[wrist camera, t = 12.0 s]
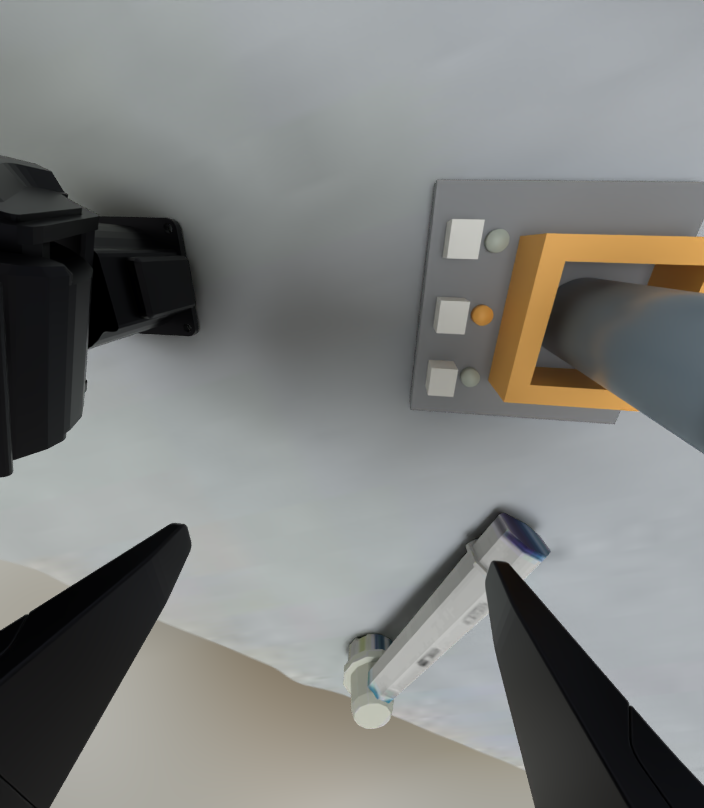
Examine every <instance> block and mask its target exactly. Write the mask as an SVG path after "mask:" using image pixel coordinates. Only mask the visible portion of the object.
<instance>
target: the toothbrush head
mask: <svg viewBox="0 0 704 808" xmlns="http://www.w3.org/2000/svg"><path fill="white" fill-rule="evenodd" d="M466 549H467V553H466V554H465V555H464V557H463V558H462V559H461V560H460V562H459V563H458V564H457V565H456V566H455V568H454V569H453V570H452V571H451V572H450V574H449V575H448V576H447V577H446V578H445V580H444V581H443V582H442V583H441V585H440V586H439V587H438V588H437V589H436V591H435V592H434V593H433V594H432V595H431V597H430V598H429V599H428V600H427V602H426V603H425V604H424V605H423V606H422V608H421V609H420V610H419V611H418V612H417V614H416V615H415V616H414V617H413V618H412V620H411V621H410V622H409V623H408V625H407V626H406V627H405V628H404V629H403V631H402V632H401V633H400V634H399V635H398V637H397V638H396V639H395V640H394V642H392V641H391V639H389V638H387V637H385V636H383V635H380V634H367V636H365V637H362V638H360V639H359V638H355V639H354V640H353V642H352V643H351V644H350V645H349V657H348V662H347V663H346V665H345V666H344V681H343V685H344V686H345V687H346V689H347V690H348V692H349V693H350V694H351V711H352V715H353V718H354V720H355V722H356V723H357V724H358V725H359V726H361V727H363V728H366V729H373V728H378V727H381V726H384V725H385V724H386V723H387V722H388V721H389V720H390V717H391V714H392V710H393V699H394V698H395V697H396V696H398V695H399V694H400V693H401V692H402V691H403V690H404V689H405V688H406V687H408V686H409V685H410V684H411V683H412V682H413V681H414V680H415V679H416V678H418V677H419V676H420V675H421V674H422V673H423V672H424V671H425V670H427V669H428V668H429V667H430V666H431V665H432V664H433V663H434V662H435V661H437V660H438V659H439V658H440V657H441V656H442V655H443V654H444V653H445V652H447V651H448V650H449V649H450V648H451V647H452V646H453V645H454V644H455V643H457V642H458V641H459V640H460V639H461V638H462V637H463V636H464V635H465V634H467V633H468V632H469V631H470V630H471V629H472V628H473V627H474V626H475V625H477V624H478V623H479V622H480V621H481V620H482V619H483V618H484V617H485V616H487V615H488V614H489V609H488V603H487V596H486V590H485V579H486V576H487V572H488V569H489V566H490V563H491V561H493V560H497V561H505V562H507V563H509V564H510V565H511V566H512V567H513V569H514V570H515V571H516V572H517V573H518V574H519V576H520V577H521V578H522V579H523V580H525V579H526V578H527V577H528V576H529V575H530V573H531V572H532V571H533V570H534V569H535V568H536V567H537V566H538V565H539V564H540V563H541V562H542V561H543V560H544V559H545V558H546V557H547V556H548V554H549V553H550V552H551V551H550V549H549V548H548V547H547V545H546V544H545V542H544V541H543V540H542V538H541V537H540V536H539V535H538V534H537V533H536V532H535V531H533V530H532V529H531V528H530V527H529V526H528V525H526V524H525V523H523V522H521V521H519V520H517V519H515V518H513V517H511V516H509V515H508V514H506V513H502V514H500V515H498V517H497V518H496V519H495V520H494V521H493V522H492V524H491V525H490V526H489V527H488V528H487V529H486V531H485V532H484V533H483V534H482V535H481V537H480V538H479V539H478V540H477V539H474V540H473V541H471V542H469V543H468V544H467V545H466Z"/></svg>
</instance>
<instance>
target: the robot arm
mask: <svg viewBox="0 0 704 808" xmlns="http://www.w3.org/2000/svg"><path fill="white" fill-rule="evenodd" d="M169 224H170V225H171V226H172V232H171V233H170V232H169V230H168V225H169ZM195 303H196V301H195V296H194V290H193V285H192V279H191V273H190V268H189V262H188V260H187V259H186V255H185V250H184V244H183V238H182V233H181V228H180V225H179V224H178V222H177V221H175V220H174V219H170V218H148V217H100V216H99V215H98V214H96V213H94V212H92V211H90V210H88V209H86V208H84V207H82V206H80V205H78V204H77V203H75V202H73V201H72V200H70V199H68V194H67V193H65V192H64V191H63V190H62V188H61V186H60V185H59V183H58V181H57V180H56V178H55V177H54V175H53V173H52V172H51V171H49V170H47V169H45V168H43V167H41V166H39V165H37V164H35V163H30V162H26V161H22V160H18V159H14V158H10V157H5V156H1V155H0V477H6V476H9V475H11V474H12V473H13V460H16V459H19V458H22V457H25V456H28V455H31V454H34V453H37V452H40V451H43V450H46V449H48V448H50V447H52V446H54V445H56V444H58V443H60V442H61V441H63V440H64V439H65V438H66V432H68V431H69V430H70V429H71V428H72V427H73V426H74V425H75V424H76V423H77V421H78V420H79V419H80V418H81V417H82V411H83V406H84V394H85V392H86V390H87V380H86V366H87V351H88V349H91V348H94V347H97V346H100V345H103V344H106V343H109V342H112V341H115V340H118V339H121V338H124V337H127V336H130V335H133V334H136V333H142V334H160V335H178V336H192V335H194V334H196V333H197V332H198V322H197V316H196V311H195ZM187 324H188V325H190V326H191V330H189V329H188V327H187ZM190 550H191V539H190V535H189V532H188V528H187V526H186V525H185V524H180V523H171V524H169V525H168V526H166V527H164V528H163V529H161V530H160V531H158V532H156V533H155V534H153V535H152V536H150V537H149V538H147V539H145V540H144V541H142V542H141V543H139V544H137V545H136V546H134V547H133V548H131V549H129V550H128V551H126V552H125V553H123V554H121V555H120V556H118V557H117V558H115V559H113V560H112V561H110V562H109V563H107V564H106V565H104V566H102V567H101V568H99V569H98V570H96V571H94V572H93V573H91V574H90V575H88V576H86V577H85V578H83V579H82V580H80V581H78V582H77V583H75V584H74V585H72V586H71V587H69V588H67V589H66V590H64V591H63V592H61V593H59V594H58V595H56V596H55V597H53V598H51V599H50V600H48V601H47V602H45V603H43V604H42V605H40V606H39V607H37V608H35V609H34V610H32V611H31V612H30V613H29V614H27V615H24V616H23V617H21V618H19V619H18V620H16V621H15V622H13V623H12V624H10V625H8V626H7V627H5V628H3V629H2V630H0V808H50V806H51V804H52V802H53V801H54V799H55V797H56V795H57V794H58V792H59V790H60V788H61V787H62V785H63V783H64V781H65V780H66V778H67V776H68V774H69V772H70V771H71V769H72V767H73V765H74V764H75V762H76V760H77V759H78V757H79V755H80V753H81V752H82V750H83V748H84V746H85V745H86V743H87V741H88V739H89V738H90V736H91V734H92V732H93V731H94V729H95V727H96V725H97V723H98V722H99V720H100V718H101V717H102V715H103V713H104V711H105V710H106V708H107V706H108V704H109V702H110V701H111V699H112V697H113V696H114V693H115V692H116V690H117V689H118V687H119V685H120V683H121V682H122V679H123V678H124V676H125V675H126V673H127V671H128V669H129V667H130V666H131V664H132V662H133V661H134V658H135V657H136V655H137V653H138V652H139V650H140V648H141V647H142V645H143V643H144V641H145V640H146V638H147V636H148V634H149V633H150V631H151V629H152V627H153V626H154V624H155V622H156V620H157V619H158V617H159V615H160V613H161V612H162V610H163V608H164V606H165V604H166V602H167V600H168V598H169V596H170V594H171V592H172V590H173V588H174V585H175V583H176V581H177V579H178V577H179V574H180V572H181V570H182V568H183V566H184V563H185V561H186V559H187V557H188V555H189V553H190ZM485 590H486V596H487V603H488V609H489V616H490V622H491V629H492V635H493V641H494V647H495V652H496V656H497V661H498V664H499V668H500V672H501V676H502V680H503V684H504V688H505V692H506V696H507V700H508V704H509V707H510V711H511V715H512V719H513V723H514V727H515V731H516V735H517V739H518V743H519V746H520V750H521V754H522V758H523V762H524V766H525V770H526V774H527V778H528V782H529V785H530V789H531V793H532V797H533V801H534V805H535V808H704V785H703V784H702V783H701V782H700V781H699V780H698V779H697V778H696V777H695V776H694V775H693V774H692V772H691V771H690V770H689V769H688V768H687V767H686V766H685V765H684V764H683V763H682V762H681V761H680V760H679V759H678V758H677V756H676V755H675V754H674V753H673V752H672V751H671V750H670V749H669V747H668V746H667V745H666V744H665V743H664V742H663V741H662V740H661V738H660V737H659V736H658V735H657V734H656V733H655V732H654V731H653V729H652V728H651V727H650V726H649V725H648V724H647V723H646V721H645V720H644V719H643V718H642V717H641V716H640V714H639V713H638V712H637V711H636V710H635V709H634V707H632V706H629V702H628V701H627V700H626V698H625V697H624V696H623V695H622V694H621V693H620V691H619V690H618V689H617V688H616V687H615V686H614V684H613V683H612V682H611V681H610V680H609V679H608V678H607V676H606V675H605V674H604V673H603V672H602V671H601V669H600V668H599V667H598V666H597V665H596V664H595V662H594V661H593V660H592V659H591V658H590V657H589V656H588V654H587V653H586V652H585V651H584V650H583V649H582V647H581V646H580V645H579V644H578V643H577V642H576V640H575V639H574V638H573V637H572V636H571V635H570V633H569V632H568V631H567V630H566V629H565V628H564V627H563V625H562V624H561V623H560V622H559V621H558V620H557V618H556V617H555V616H554V615H553V614H552V613H551V611H550V610H549V609H548V608H547V607H546V606H545V605H544V603H543V602H542V601H541V600H540V599H539V598H538V596H537V595H536V594H535V593H534V592H533V591H532V589H531V588H530V587H529V586H528V585H527V584H526V582H525V581H524V580H523V579H522V578H521V577H520V576H519V574H518V573H517V572H516V571H515V570H514V569H513V567H512V566H511V565H510V564H509V563H507V562H505V561H497V560H493V561H491V563H490V566H489V569H488V572H487V576H486V579H485Z"/></svg>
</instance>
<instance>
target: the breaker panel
mask: <svg viewBox="0 0 704 808" xmlns="http://www.w3.org/2000/svg"><path fill="white" fill-rule="evenodd" d="M703 219H704V182H662V181H550V180H437V181H436V183H435V184H434V193H433V202H432V211H431V219H430V228H429V237H428V246H427V254H426V263H425V272H424V281H423V290H422V298H421V307H420V316H419V325H418V333H417V342H416V351H415V360H414V368H413V377H412V386H411V395H410V408H411V410H423V411H437V412H451V413H465V414H479V415H493V416H507V417H521V418H535V419H549V420H563V421H576V422H590V423H604V424H615V422H616V420H617V418H618V415H619V413H620V411H621V410H626V411H638V410H637V409H635V408H634V407H632V406H631V405H629V404H628V403H626V402H625V401H623V400H622V399H620V398H619V397H617V396H616V395H614V394H613V393H611V392H610V391H608V390H607V389H605V388H604V387H602V386H601V385H599V384H598V383H596V382H595V381H593V380H592V379H590V378H589V377H587V376H586V375H584V374H583V373H581V372H580V371H578V370H577V369H575V368H574V367H572V366H571V365H569V364H568V363H566V362H565V361H563V360H562V359H560V358H559V357H557V356H556V355H554V354H553V353H551V352H550V351H548V350H547V349H545V348H544V347H543V346H542V341H543V338H544V334H545V331H546V327H547V324H548V320H549V317H550V313H551V310H552V306H553V303H554V299H555V296H556V292H557V289H558V287H559V286H561V285H563V284H564V283H566V282H569V281H571V280H575V279H579V278H598V279H605V280H612V281H620V282H627V283H634V284H641V285H648V286H656V287H663V288H670V289H677V290H685V291H692V292H699V293H704V237H696V235H697V233H698V231H699V228H700V226H701V224H702V221H703Z"/></svg>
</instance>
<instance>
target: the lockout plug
mask: <svg viewBox="0 0 704 808" xmlns="http://www.w3.org/2000/svg"><path fill="white" fill-rule="evenodd" d="M542 346H543V347H544V348H545V349H547V350H548V351H550V352H551V353H553V354H554V355H556V356H557V357H559V358H560V359H562V360H563V361H565V362H566V363H568V364H569V365H571V366H572V367H574V368H575V369H577V370H578V371H580V372H581V373H583V374H584V375H586V376H587V377H589V378H590V379H592V380H593V381H595V382H596V383H598V384H599V385H601V386H602V387H604V388H605V389H607V390H608V391H610V392H611V393H613V394H614V395H616V396H617V397H619V398H620V399H622V400H623V401H625V402H626V403H628V404H629V405H631V406H632V407H634V408H635V409H637V410H638V411H640V412H641V413H643V414H644V415H646V416H648V417H649V418H651V419H652V420H654V421H655V422H657V423H658V424H660V425H661V426H663V427H664V428H666V429H667V430H669V431H670V432H672V433H673V434H675V435H676V436H678V437H679V438H681V439H682V440H684V441H685V442H687V443H688V444H690V445H691V446H693V447H694V448H696V449H697V450H699V451H700V452H702V453H703V454H704V293H699V292H692V291H685V290H677V289H670V288H663V287H656V286H648V285H641V284H634V283H627V282H620V281H612V280H605V279H598V278H579V279H575V280H571V281H569V282H566V283H564V284H563V285H561V286H559V287H558V289H557V292H556V296H555V299H554V303H553V306H552V310H551V313H550V317H549V320H548V324H547V327H546V331H545V334H544V338H543V341H542Z"/></svg>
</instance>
